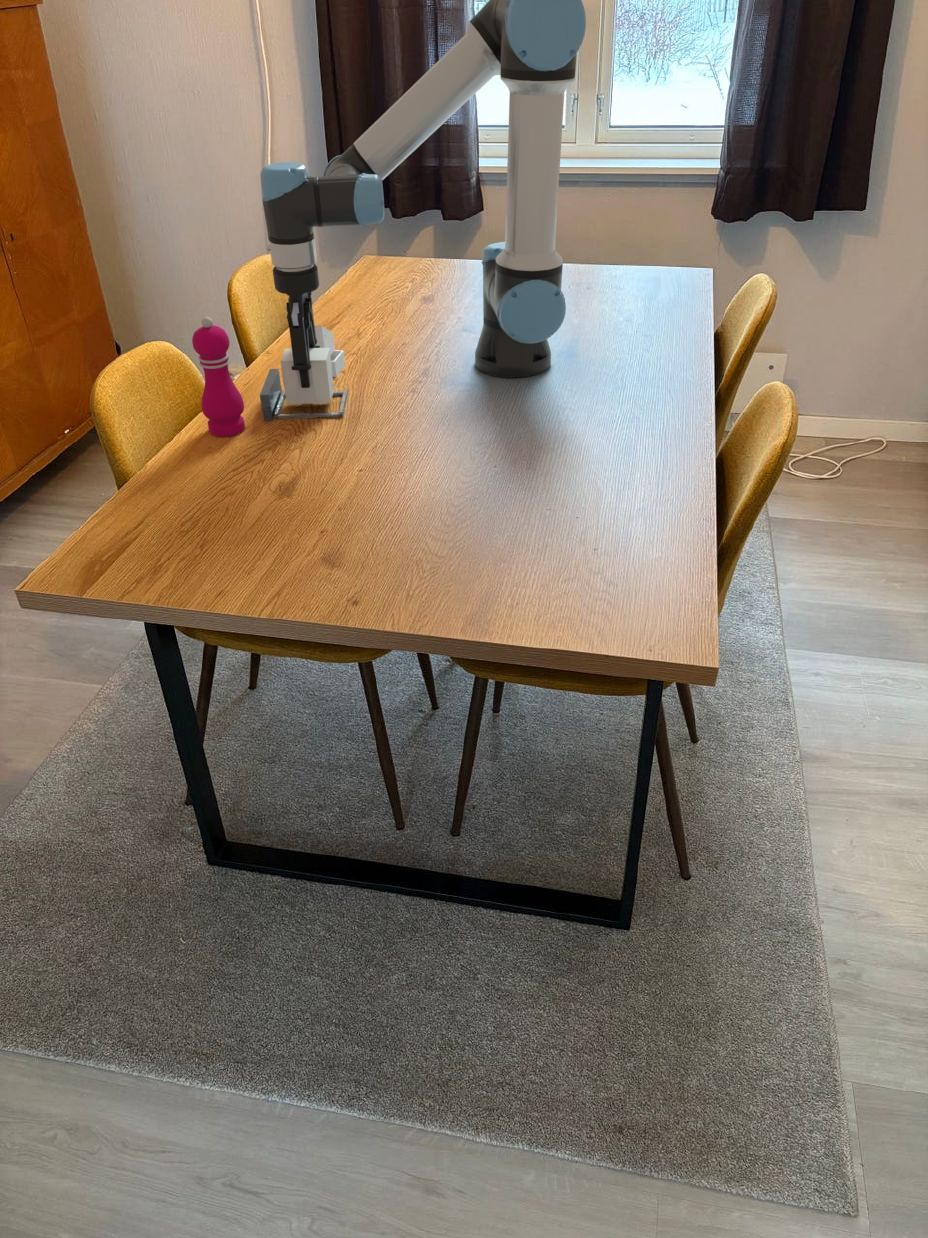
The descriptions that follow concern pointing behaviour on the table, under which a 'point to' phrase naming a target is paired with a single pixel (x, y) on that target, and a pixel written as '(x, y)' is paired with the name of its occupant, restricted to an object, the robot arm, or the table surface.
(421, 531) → the table surface
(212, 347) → the pepper mill
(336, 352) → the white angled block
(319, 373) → the block
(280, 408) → the rail plate
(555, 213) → the robot arm
